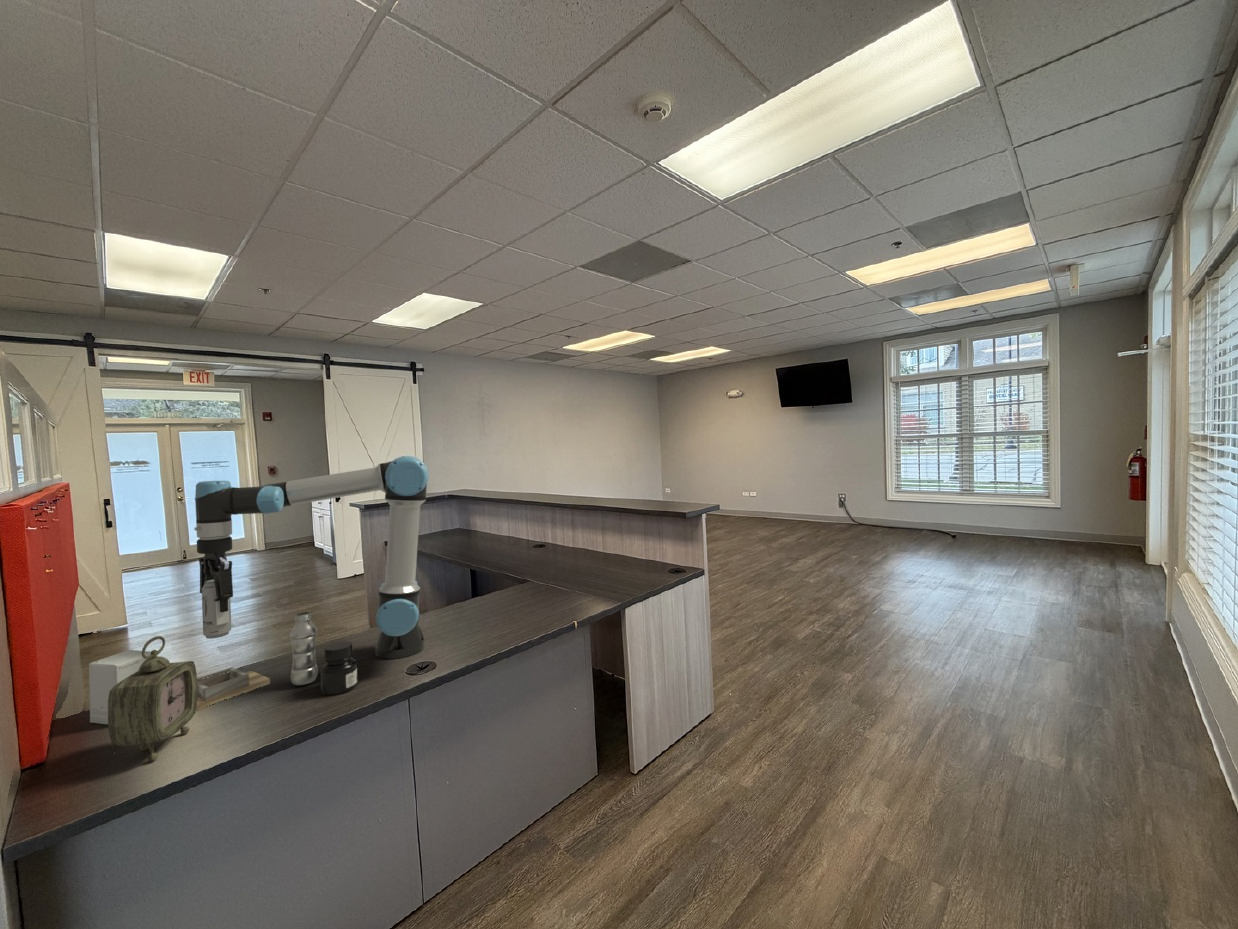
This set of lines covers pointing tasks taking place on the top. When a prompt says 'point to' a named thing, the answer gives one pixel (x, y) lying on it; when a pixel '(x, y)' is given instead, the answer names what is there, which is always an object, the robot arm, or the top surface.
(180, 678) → the tabletop clock
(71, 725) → the top surface
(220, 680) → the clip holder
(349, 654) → the ink bottle
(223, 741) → the top surface
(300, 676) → the plastic bottle
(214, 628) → the energy drink can
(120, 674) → the supplement box
